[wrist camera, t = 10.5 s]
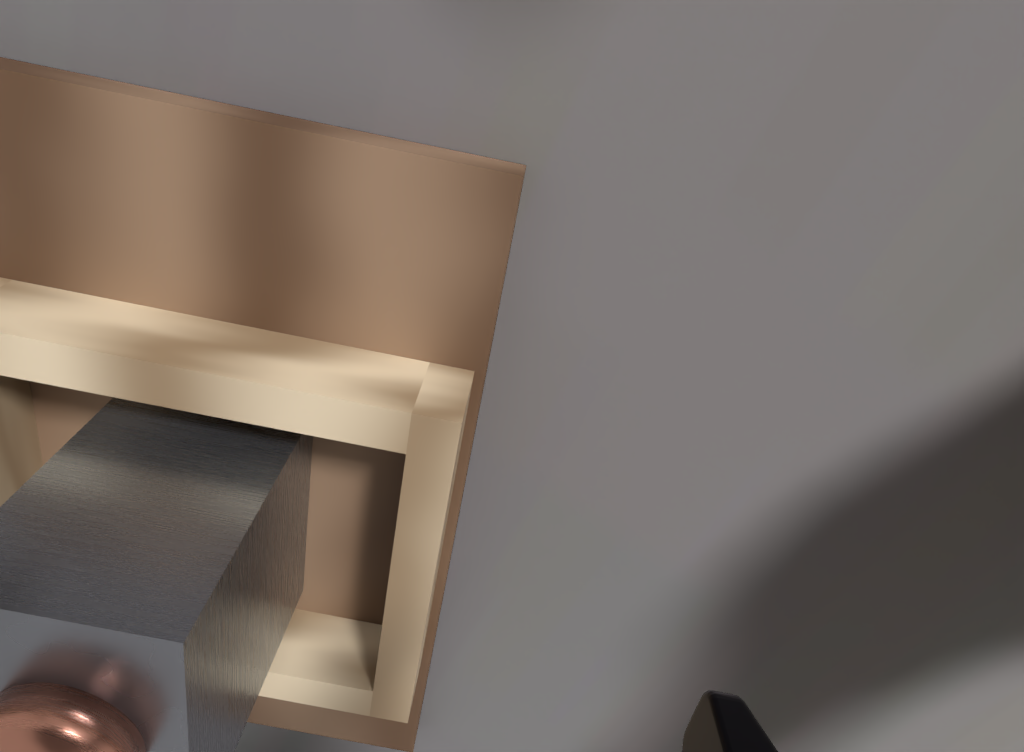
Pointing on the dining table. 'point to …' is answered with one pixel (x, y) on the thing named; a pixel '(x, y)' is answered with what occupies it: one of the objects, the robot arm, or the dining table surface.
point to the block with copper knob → (149, 582)
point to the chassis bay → (265, 339)
